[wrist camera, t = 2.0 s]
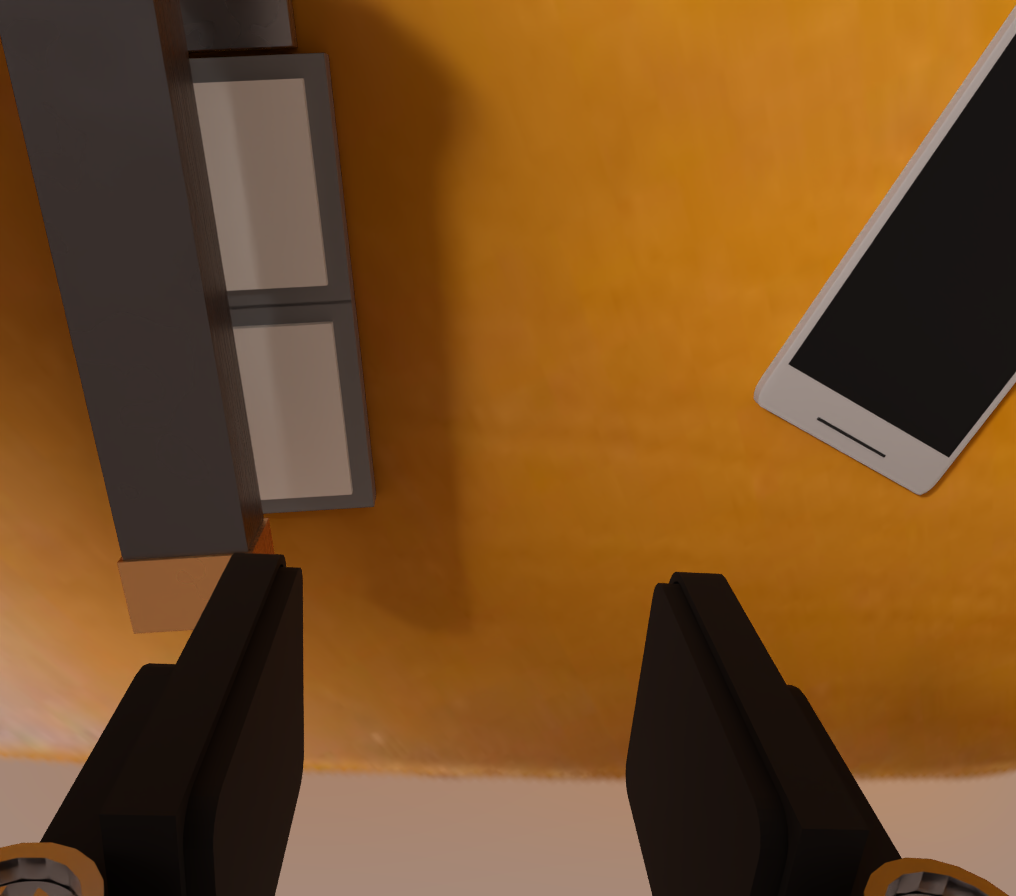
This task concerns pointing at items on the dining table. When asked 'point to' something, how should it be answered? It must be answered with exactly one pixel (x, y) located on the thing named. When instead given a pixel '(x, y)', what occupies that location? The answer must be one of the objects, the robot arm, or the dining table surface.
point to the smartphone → (919, 298)
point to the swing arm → (141, 288)
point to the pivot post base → (238, 25)
